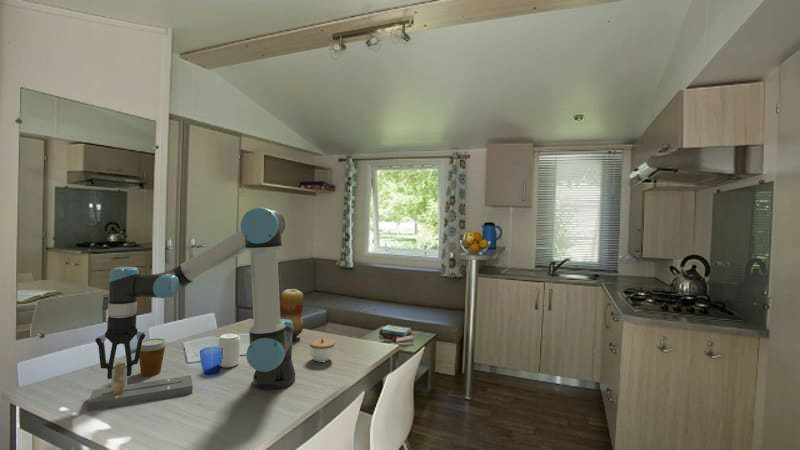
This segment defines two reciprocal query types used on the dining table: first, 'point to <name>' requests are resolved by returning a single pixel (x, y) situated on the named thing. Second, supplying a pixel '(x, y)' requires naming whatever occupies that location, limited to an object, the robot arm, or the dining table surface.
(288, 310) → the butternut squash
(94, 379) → the dining table surface
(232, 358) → the white lidded canister
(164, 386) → the fader console
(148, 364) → the disposable coffee cup
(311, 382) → the dining table surface
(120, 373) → the beige tall block
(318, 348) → the lidded jar
